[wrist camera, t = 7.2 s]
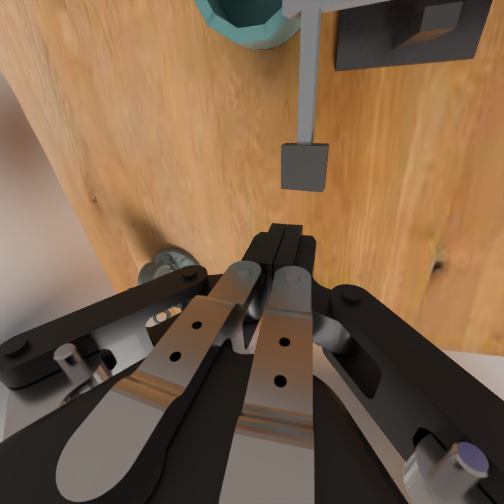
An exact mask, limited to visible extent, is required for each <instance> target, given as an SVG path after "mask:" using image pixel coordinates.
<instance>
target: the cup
mask: <svg viewBox="0 0 504 504" xmlns="http://www.w3.org/2000/svg"><path fill="white" fill-rule="evenodd" d="M194 1H195V3H196V5H197V7H198V9H199V11H200V12H201V14H202V16H203V18H204V20H205V21H206V23H207V25H208V26H209V27H211V28H213V29H214V30H216V31H217V32H219V33H221V34H222V35H224V36H225V37H227V38H229V39H230V40H232V41H233V42H235V43H237V44H239V45H241V46H243V47H246V48H248V49H250V50H254V49H258V50H266V49H271V48H274V47H278V46H280V45H281V44H283V43H285V42H286V41H288V40H289V39H290V38H292V37H293V36H294V35H295V34H296V33H297V32H298V31H299V29H300V28H301V17H300V18H295V19H289V18H287V17H285V16H284V15H282V0H194Z"/></svg>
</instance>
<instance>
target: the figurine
mask: <svg viewBox="0 0 504 504" xmlns="http://www.w3.org/2000/svg"><path fill="white" fill-rule="evenodd" d="M189 265H199V266H201V265H200V264H199V263H198V261H197V260H196V259H195V258H194V257H192V256H191V255H190V254H188V253H187V252H185V251H182V250H179V249H175V248H167V249H164V250H162V251H160V252H159V253H158V254H157V255H156V256H155V257H154V259H153V262H149V263H147V264H145V265H144V266H143V268H142V269H141V271H140V273H139V277H138V283H139V285H141V284H143V283H146V282H148V281H151V280H153V279H156V278H158V277H160V276H163V275H165V274H168V273H170V272H173V271H175V270H178V269H180V268H182V267H185V266H189ZM129 289H131V288H129ZM129 289H128V290H129ZM174 307H177V308H180V305H179V304H178V305H176V306H173V307H171V308H169V309H173V308H174ZM163 312H164V313H166V314H167V318H166V320H167V319H169V318H171V313H170V312H169V311H168V310H165V311H163ZM153 320H154V322H155V323H157V324H159V323H161V322H159V321H157V319H156V315H155V316H153Z"/></svg>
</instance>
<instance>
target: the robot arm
mask: <svg viewBox="0 0 504 504" xmlns="http://www.w3.org/2000/svg"><path fill="white" fill-rule="evenodd" d="M315 251H316V240H315V239H314V237H313V236H307V235H303V225H291V224H288V225H287V224H276V223H272V225H271V227H270V229H269V231H268V232H260V233H259V234H257V235H256V236H255V237H254V238H253V240H252V242H251V244H250V246H249V248H248V249H247V251H246V253H245V255H244V257H243V258H242V260H241V261H239V262H236V263H234V264H232V265H230V266H229V267H228V269H227V270H226V271H225V273H224V274H218V275H208V274H207V270H206V269H205V268H204V267H202V266H199V265H189V266H185V267H182V268H180V269H178V270H175V271H173V272H170V273H168V274H165V275H163V276H160V277H158V278H156V279H153V280H151V281H148V282H146V283H143V284H141V285H138V286H136V287H134V288H131V289H129V290H126V291H124V292H121V293H119V294H116V295H114V296H112V297H109V298H107V299H104V300H102V301H99V302H97V303H94V304H92V305H90V306H87V307H85V308H82V309H80V310H78V311H75V312H72V313H70V314H68V315H65V316H63V317H61V318H58V319H55V320H53V321H51V322H48V323H46V324H43V325H41V326H38V327H36V328H34V329H31V330H29V331H26V332H24V333H21V334H19V335H17V336H14V337H12V338H11V339H9V340H7V341H6V342H4V343H3V344H1V345H0V381H1V382H2V383H3V385H4V387H5V388H6V389H7V390H8V391H9V394H8V402H7V411H6V420H5V429H4V437H3V441H2V442H1V443H0V504H409V503H408V502H407V500H406V499H405V497H404V496H403V494H402V493H401V491H400V490H399V488H398V487H397V485H396V484H395V482H394V481H393V479H392V478H391V476H390V474H389V473H388V472H387V470H386V468H385V467H384V465H383V464H382V462H381V461H380V459H379V458H378V456H377V455H376V453H375V452H374V450H373V449H372V447H371V445H370V444H369V442H368V441H367V439H366V438H365V436H364V435H363V433H362V432H361V430H360V429H359V427H358V426H357V424H356V423H355V421H354V420H353V418H352V416H351V415H350V413H349V412H348V410H347V409H346V408H345V406H344V404H343V403H342V401H341V400H340V398H339V397H338V396H337V395H336V394H335V392H334V391H333V390H332V389H331V388H330V387H329V386H327V384H325V383H324V382H323V381H321V380H320V379H319V378H318V377H316V376H314V375H313V343H315V344H317V345H319V346H321V347H322V349H323V353H324V355H325V356H326V358H327V359H328V360H329V362H330V363H331V364H332V366H333V367H334V368H335V369H336V371H337V372H338V373H339V375H340V376H341V377H342V379H343V380H344V381H345V383H346V384H347V385H348V387H349V388H350V389H351V391H352V392H353V393H354V395H355V396H356V397H357V398H358V400H359V401H360V402H361V404H362V405H363V406H364V408H365V409H366V410H367V412H368V413H369V414H370V416H371V417H372V418H373V420H374V421H375V422H376V424H377V425H378V426H379V427H380V429H381V430H382V431H383V433H384V434H385V435H386V437H387V438H388V439H389V441H390V442H391V443H392V444H393V446H394V447H395V449H396V450H397V451H398V452H399V454H400V455H401V456H402V458H403V459H404V460H405V461H406V463H405V466H404V471H403V476H404V483H405V486H406V490H407V492H408V494H409V497H410V499H411V500H412V502H413V504H504V401H503V400H502V399H500V398H499V397H498V396H497V395H495V394H494V393H493V392H491V391H490V390H489V389H488V388H487V387H485V386H484V385H483V384H482V383H480V382H479V381H478V380H477V379H475V378H474V377H473V376H472V375H470V374H469V373H468V372H467V371H466V370H464V369H463V368H462V367H461V366H459V365H458V364H457V363H456V362H454V361H453V360H452V359H451V358H449V357H448V356H447V355H445V353H443V352H442V351H441V350H440V349H438V348H437V347H436V346H435V345H433V344H432V343H431V342H430V341H428V340H427V339H426V338H425V337H423V336H422V335H421V334H420V333H418V332H417V331H416V330H415V329H413V328H412V327H411V326H410V325H408V324H407V323H406V322H405V321H404V320H402V319H401V318H400V317H399V316H397V315H396V314H395V313H394V312H392V311H391V310H390V309H389V308H387V307H386V306H385V305H384V304H382V303H381V302H380V301H379V300H377V299H376V298H375V297H374V296H372V295H371V294H370V293H369V292H367V291H366V290H365V289H363V288H361V287H358V286H355V285H349V284H343V285H338V286H336V287H334V288H333V289H332V290H330V289H327V288H325V287H323V286H321V285H319V284H318V283H317V282H316V281H315V280H314V278H313V271H314V261H315ZM178 304H179V305H180V308H181V313H179V314H177V315H175V316H173V317H171V318H169V319H167V320H165V321H163V322H161V323H159V324H157V325H155V326H153V327H145V325H146V322H147V321H148V320H149V318H151V317H153V316H155V315H157V314H159V313H161V312H163V311H165V310H167V309H169V308H171V307H173V306H176V305H178ZM266 307H268V308H266ZM259 330H260V331H259ZM258 333H259V336H258V340H257V345H256V349H255V354H250V352H251V349H252V347H253V344H254V342H255V340H256V337H257V335H258Z"/></svg>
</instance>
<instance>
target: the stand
mask: <svg viewBox="0 0 504 504" xmlns="http://www.w3.org/2000/svg"><path fill="white" fill-rule="evenodd" d="M491 4H492V0H389V1H384V2H379V3H373V4H368V5H363V6H358V7H353V8H347V9H342V10H341V20H340V30H339V41H338V51H337V62H336V71H344V70H356V69H367V68H378V67H389V66H400V65H412V64H423V63H434V62H445V61H456V60H468V59H473V58H474V56H475V53H476V49H477V46H478V43H479V40H480V37H481V34H482V31H483V28H484V25H485V22H486V19H487V16H488V13H489V10H490V7H491Z"/></svg>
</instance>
